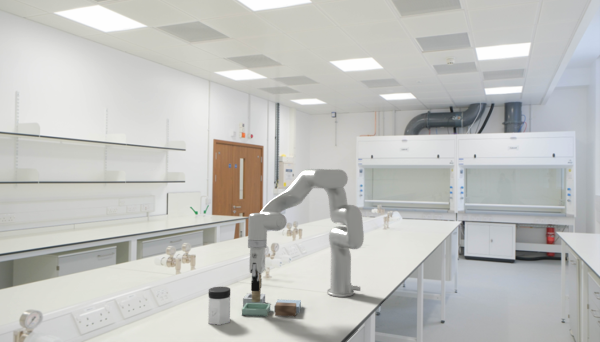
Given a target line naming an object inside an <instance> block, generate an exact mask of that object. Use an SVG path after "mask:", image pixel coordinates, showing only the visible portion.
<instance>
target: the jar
mask: <svg viewBox="0 0 600 342" xmlns="http://www.w3.org/2000/svg"><path fill="white" fill-rule="evenodd" d="M207 321H208V322H207V323H208V324H210V325H215V324H217V326H221V324H222V325H225V323H226V324H228V323H230V322H231V288H230V287H228V286H214V287H210V288H209V289H208V319H207Z"/></svg>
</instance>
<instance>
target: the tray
mask: <svg viewBox="0 0 600 342" xmlns="http://www.w3.org/2000/svg"><path fill="white" fill-rule="evenodd" d="M270 312H271V303H264V304H260V303H246V304H245V306H244V307H243V306H242V308H241V316H244V315H246V316H251V317H268V315H269V313H270ZM246 316H245V317H246Z"/></svg>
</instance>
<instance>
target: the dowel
mask: <svg viewBox="0 0 600 342" xmlns="http://www.w3.org/2000/svg"><path fill="white" fill-rule="evenodd" d="M256 273H258V272H256ZM261 278H262V273H261V274H260V273H259V281H260V286H259V291H251V294H252V302H260V294H262V293H261V289H262V281H261Z"/></svg>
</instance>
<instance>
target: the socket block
mask: <svg viewBox="0 0 600 342" xmlns="http://www.w3.org/2000/svg"><path fill="white" fill-rule="evenodd" d="M246 303H260V304H266V293H261V294H260V302H252V292H251V293H246V294H245V296H244V297H243V298H242V308H243V307H244V306H245V304H246Z"/></svg>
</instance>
